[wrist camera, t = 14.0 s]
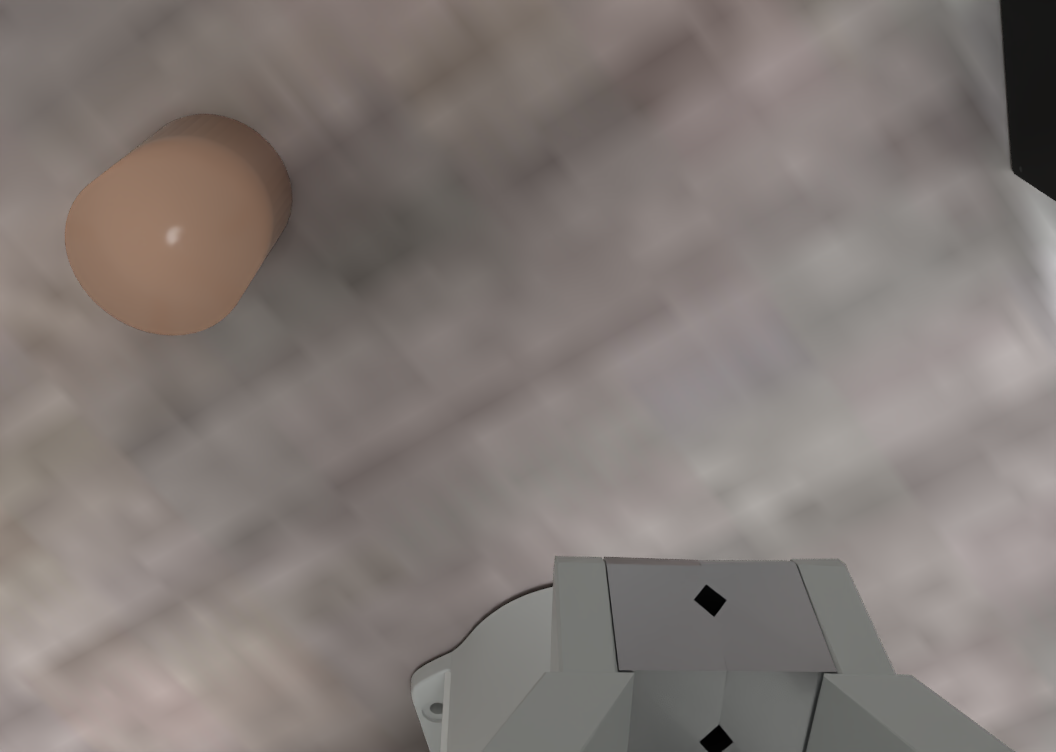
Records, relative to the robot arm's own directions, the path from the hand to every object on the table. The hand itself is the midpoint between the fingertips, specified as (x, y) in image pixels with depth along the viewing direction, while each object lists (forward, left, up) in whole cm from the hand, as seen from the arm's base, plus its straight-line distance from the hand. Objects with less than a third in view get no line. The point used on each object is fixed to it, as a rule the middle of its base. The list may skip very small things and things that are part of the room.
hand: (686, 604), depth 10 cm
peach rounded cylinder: (-5, +14, -29) cm, 33 cm away
